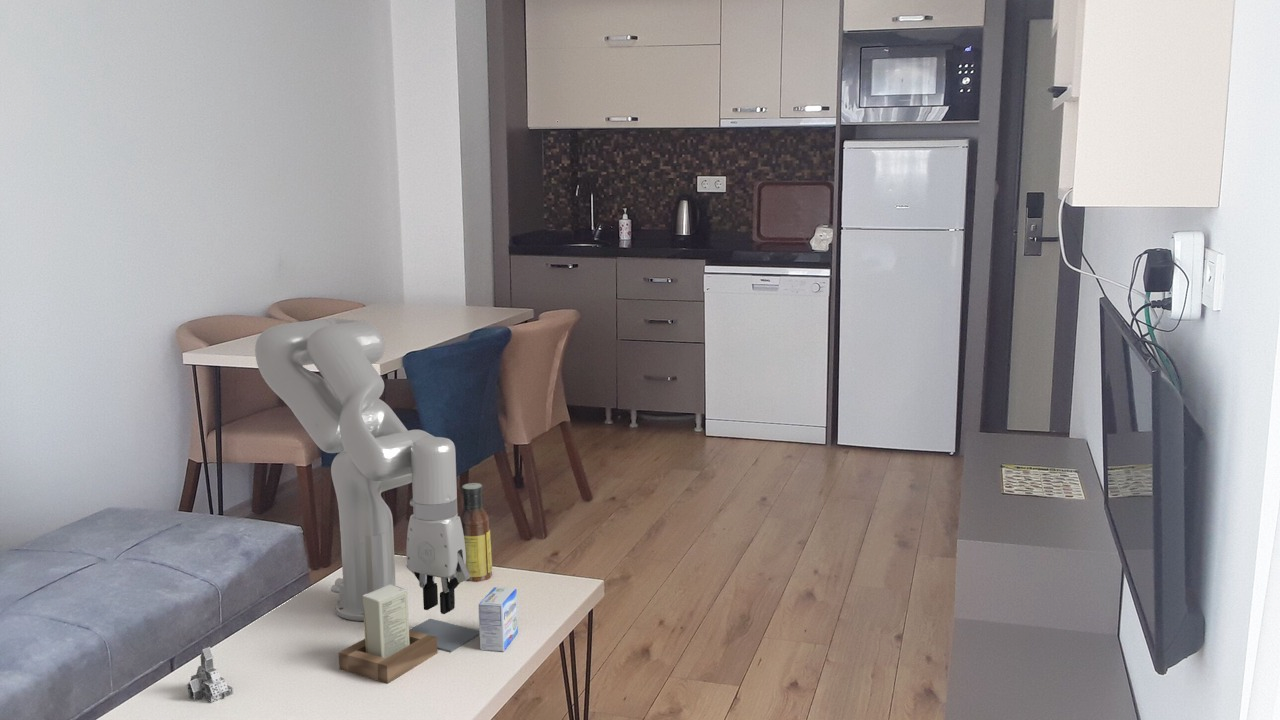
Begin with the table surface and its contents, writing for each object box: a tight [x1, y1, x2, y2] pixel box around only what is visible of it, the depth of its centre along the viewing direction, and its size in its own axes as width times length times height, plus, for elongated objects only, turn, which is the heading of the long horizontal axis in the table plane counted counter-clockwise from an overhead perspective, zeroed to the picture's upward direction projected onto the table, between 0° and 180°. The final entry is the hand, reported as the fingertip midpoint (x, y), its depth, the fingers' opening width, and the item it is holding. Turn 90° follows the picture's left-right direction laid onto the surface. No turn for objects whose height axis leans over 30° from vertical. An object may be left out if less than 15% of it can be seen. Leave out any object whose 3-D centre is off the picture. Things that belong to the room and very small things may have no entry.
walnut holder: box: [338, 629, 439, 684], centre depth 176 cm, size 10×12×3 cm
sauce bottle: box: [460, 482, 493, 583], centre depth 211 cm, size 7×6×20 cm
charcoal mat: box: [409, 618, 480, 653], centre depth 186 cm, size 12×9×1 cm
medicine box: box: [478, 586, 519, 652], centre depth 183 cm, size 8×4×9 cm, turn 168°
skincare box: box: [363, 584, 410, 658], centre depth 176 cm, size 6×4×12 cm
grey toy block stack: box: [187, 646, 234, 704], centre depth 164 cm, size 9×9×8 cm
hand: (439, 608), depth 185 cm, fingers open, 3 cm apart
